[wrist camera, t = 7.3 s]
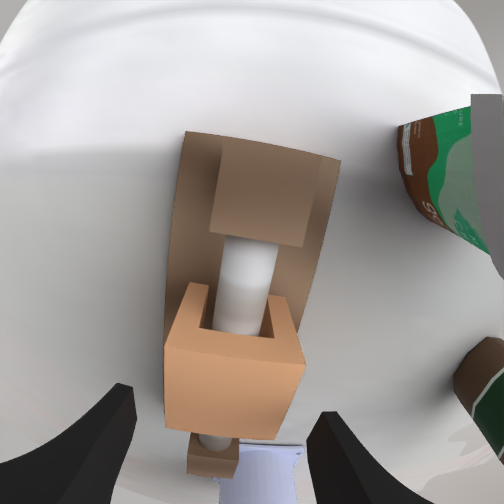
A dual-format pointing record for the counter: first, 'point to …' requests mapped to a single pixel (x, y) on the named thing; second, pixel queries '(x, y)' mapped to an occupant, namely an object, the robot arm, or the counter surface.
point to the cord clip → (230, 372)
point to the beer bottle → (484, 390)
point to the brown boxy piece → (244, 245)
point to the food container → (459, 171)
